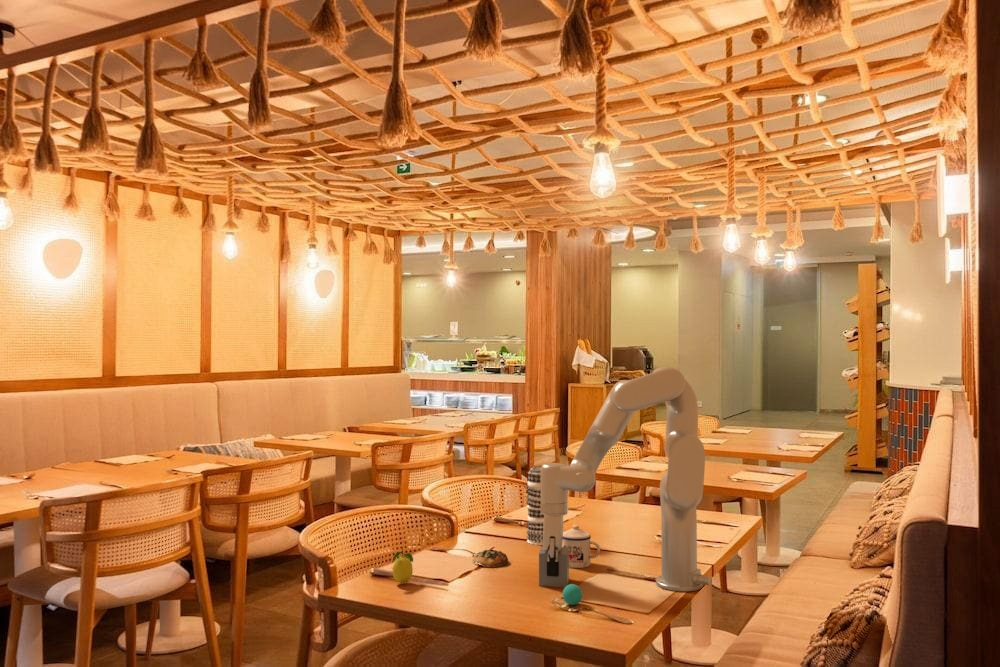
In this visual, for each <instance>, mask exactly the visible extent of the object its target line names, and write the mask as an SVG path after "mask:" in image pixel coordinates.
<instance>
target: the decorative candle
mask: <svg viewBox="0 0 1000 667" xmlns="http://www.w3.org/2000/svg"><path fill="white" fill-rule="evenodd" d="M541 467H542V466H534V467H533V466H532V467H531V468H530V469H529V471H527V475H528V476H527V478H528V480H527V484H526V485H525V489H526V491H525V493H526V494H527V495H526V504H527V505H526V508H527V509H528V510H527V511H528V512H527V520H526V521H527V522H526V524H527V526H526V528H527V530H526V534H527V535H526V538H527V540H526V543H527V542H528V543H527V544H529V543H530V544H529V545H533V544H534V545H533V546H543V524H544V515H543V514H541Z"/></svg>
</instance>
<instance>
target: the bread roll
mask: <svg viewBox="0 0 1000 667" xmlns="http://www.w3.org/2000/svg"><path fill="white" fill-rule="evenodd" d="M473 561H474V562H477V563H480V564H482V566H483V567H482V568H499V567H504V566H506V565H507V563H508V562H509V558H508V556H507V554H506V553H504V552H502V551H500V550H499V551H498V550H494V549H492V548H491V549H484V550H482V551H480V552H477V553H476V554H474V556H473V557H472V562H473ZM474 562H473V563H474Z"/></svg>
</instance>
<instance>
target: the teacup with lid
mask: <svg viewBox="0 0 1000 667" xmlns="http://www.w3.org/2000/svg"><path fill="white" fill-rule="evenodd" d="M591 538H592V536H591V533H589V532H588V531H585V530H583V529H582V528H580V526H579V525H578V524H573V525H572V528H569V529H568V530H566V531H563V540H562V547H569V569H570V568H571V569H582V568H588V567H589V566H591V559H595V558H597V557H598V556H599V554H600V552H601V547H600V544H599V543H597V542H596V541H591ZM591 545H594V546H595V547H596V553H595V555H591Z"/></svg>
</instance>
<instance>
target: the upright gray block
mask: <svg viewBox="0 0 1000 667" xmlns="http://www.w3.org/2000/svg"><path fill="white" fill-rule="evenodd" d="M554 550H557V549H554ZM555 555H556V553H555ZM547 558H548V549H547V550H546V551H543V545H541V547H540V550H539V552H538V586H539V587H557V588H565V587H566V586H567V585H569V580H570V567H569V547H561V550H560V551H559V552H558V561H559V576H558V577H554V576H547Z"/></svg>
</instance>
